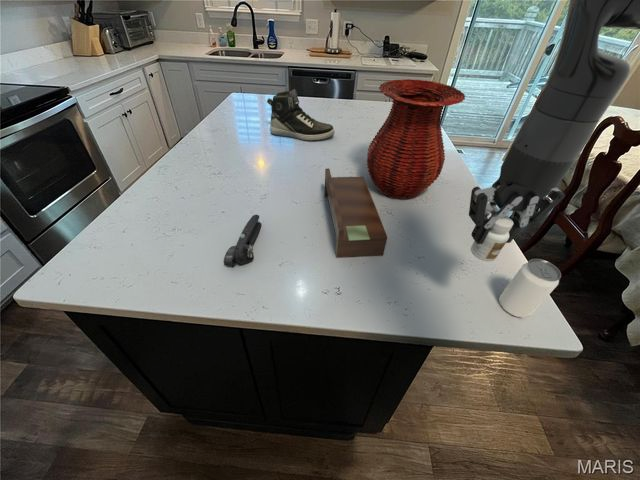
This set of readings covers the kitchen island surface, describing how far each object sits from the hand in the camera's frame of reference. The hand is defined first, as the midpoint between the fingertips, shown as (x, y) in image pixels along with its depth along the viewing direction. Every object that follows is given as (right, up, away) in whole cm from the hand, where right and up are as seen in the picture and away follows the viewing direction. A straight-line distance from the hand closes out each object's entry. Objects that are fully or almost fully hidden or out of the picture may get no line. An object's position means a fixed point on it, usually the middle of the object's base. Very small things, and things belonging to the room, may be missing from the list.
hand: (490, 239), depth 51 cm
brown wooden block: (-21, +5, +33) cm, 40 cm away
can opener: (-48, -2, +25) cm, 54 cm away
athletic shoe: (-38, +45, +75) cm, 95 cm away
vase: (-4, +17, +47) cm, 51 cm away
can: (+13, -15, +14) cm, 24 cm away
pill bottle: (0, -3, +2) cm, 4 cm away
